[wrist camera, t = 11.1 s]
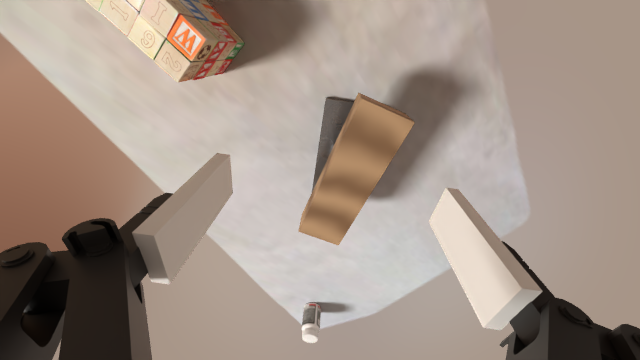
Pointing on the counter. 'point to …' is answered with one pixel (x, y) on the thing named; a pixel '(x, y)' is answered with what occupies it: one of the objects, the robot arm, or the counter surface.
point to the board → (354, 167)
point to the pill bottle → (311, 322)
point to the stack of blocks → (175, 34)
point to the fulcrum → (330, 131)
